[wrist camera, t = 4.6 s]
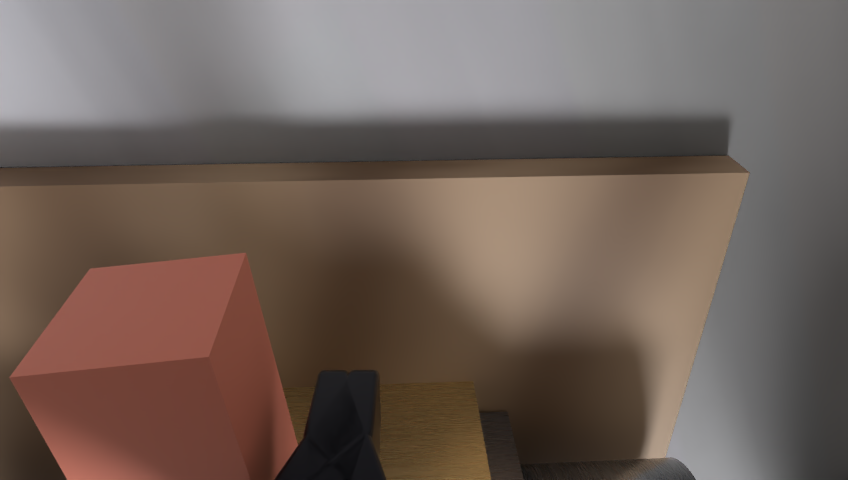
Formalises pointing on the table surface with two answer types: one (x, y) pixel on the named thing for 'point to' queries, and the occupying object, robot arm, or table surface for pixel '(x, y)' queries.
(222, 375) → the lever
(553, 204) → the board
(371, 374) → the robot arm
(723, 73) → the table surface
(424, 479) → the valve
